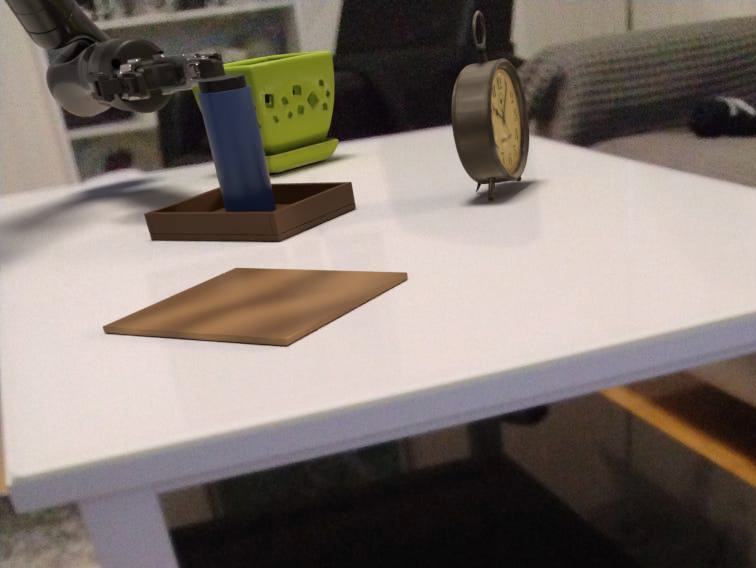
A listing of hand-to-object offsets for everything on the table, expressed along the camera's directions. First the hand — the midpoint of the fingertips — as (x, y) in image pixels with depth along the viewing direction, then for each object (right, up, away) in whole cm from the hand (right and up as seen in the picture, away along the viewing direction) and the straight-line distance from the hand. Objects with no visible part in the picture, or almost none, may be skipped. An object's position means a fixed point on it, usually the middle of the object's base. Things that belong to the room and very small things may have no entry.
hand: (180, 77), depth 108 cm
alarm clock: (+33, -13, -1) cm, 36 cm away
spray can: (+8, -15, -1) cm, 17 cm away
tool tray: (+8, -16, 0) cm, 18 cm away
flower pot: (+5, +4, +30) cm, 30 cm away
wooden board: (+14, -33, -27) cm, 45 cm away
